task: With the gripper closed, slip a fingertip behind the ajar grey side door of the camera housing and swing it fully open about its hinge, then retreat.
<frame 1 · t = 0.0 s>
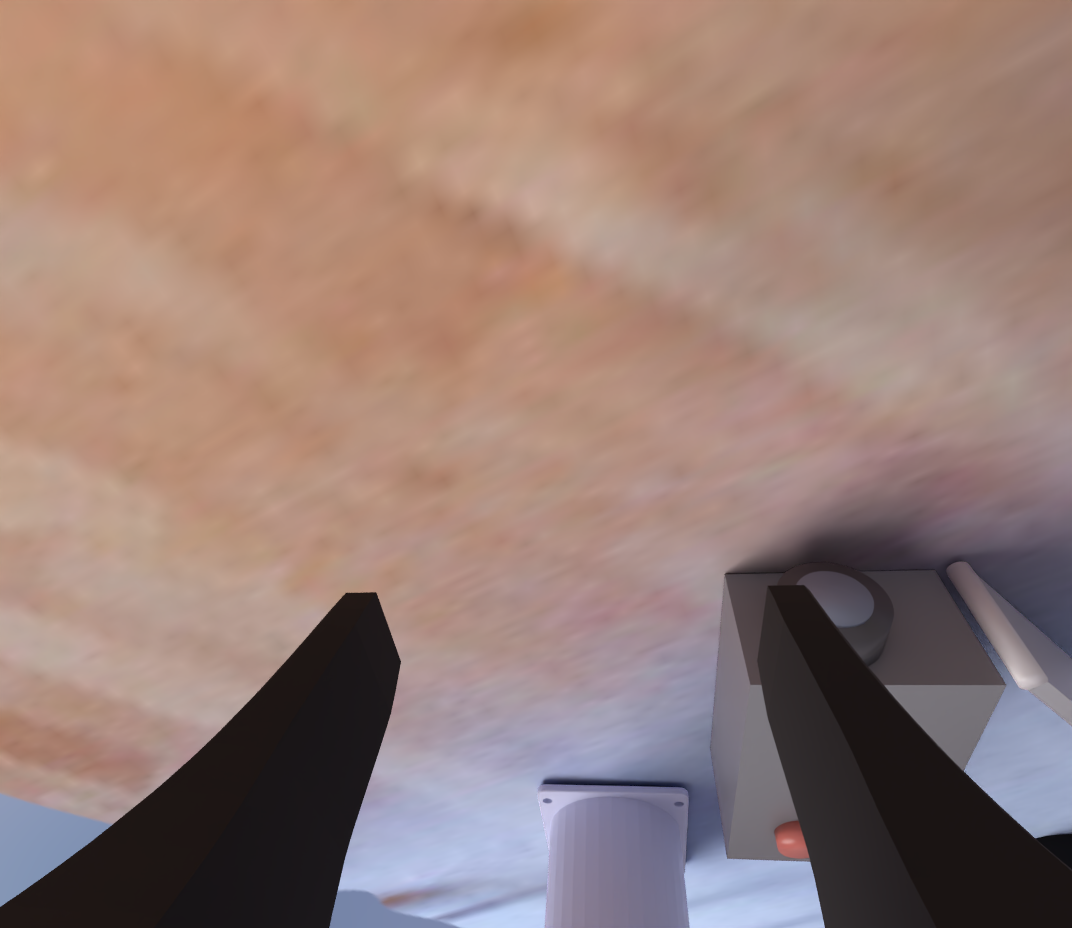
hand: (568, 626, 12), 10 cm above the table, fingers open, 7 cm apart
cup: (1055, 855, 34), on the table
side door: (1060, 670, 22), point 3 cm above the table, hinge at 45.0°
camera body: (806, 672, 27), on the table
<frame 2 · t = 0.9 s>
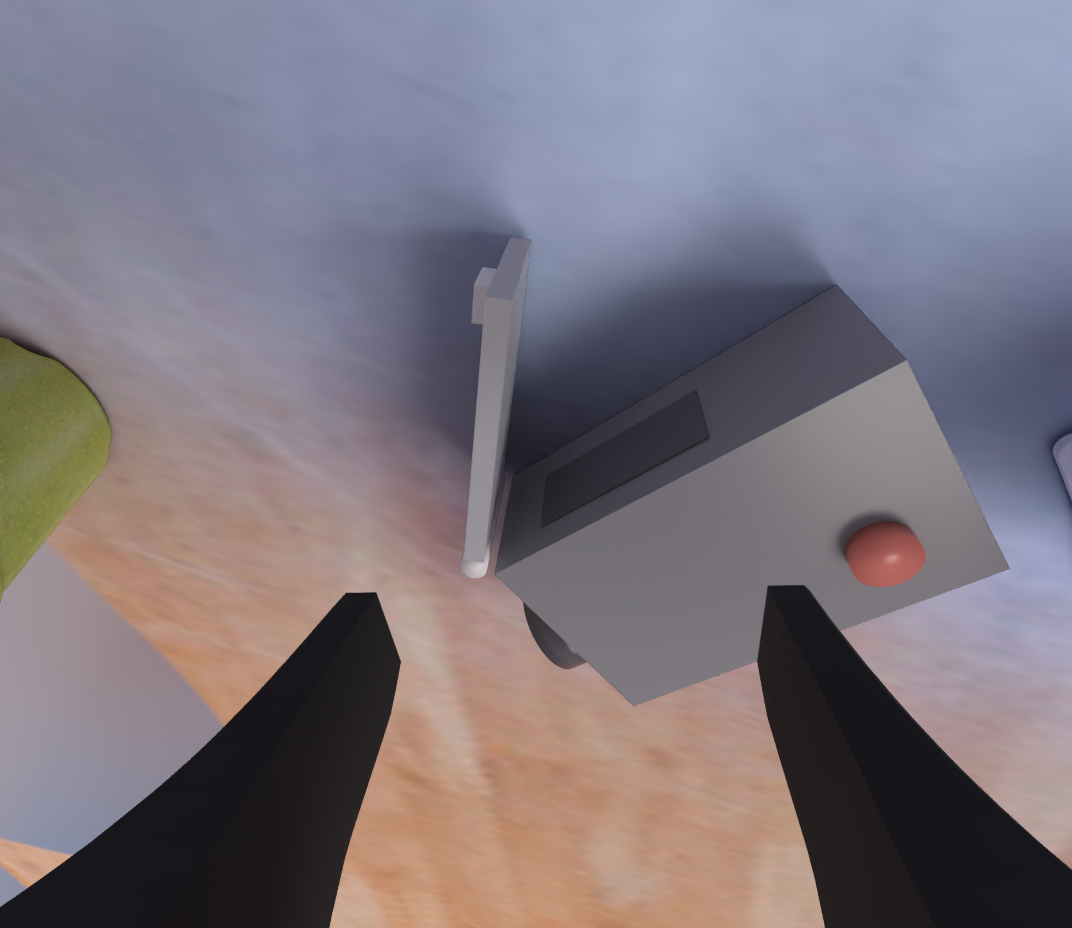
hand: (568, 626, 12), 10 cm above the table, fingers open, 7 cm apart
plant pot: (33, 406, 23), on the table
side door: (489, 412, 18), point 3 cm above the table, hinge at 45.0°
camera body: (713, 470, 22), on the table
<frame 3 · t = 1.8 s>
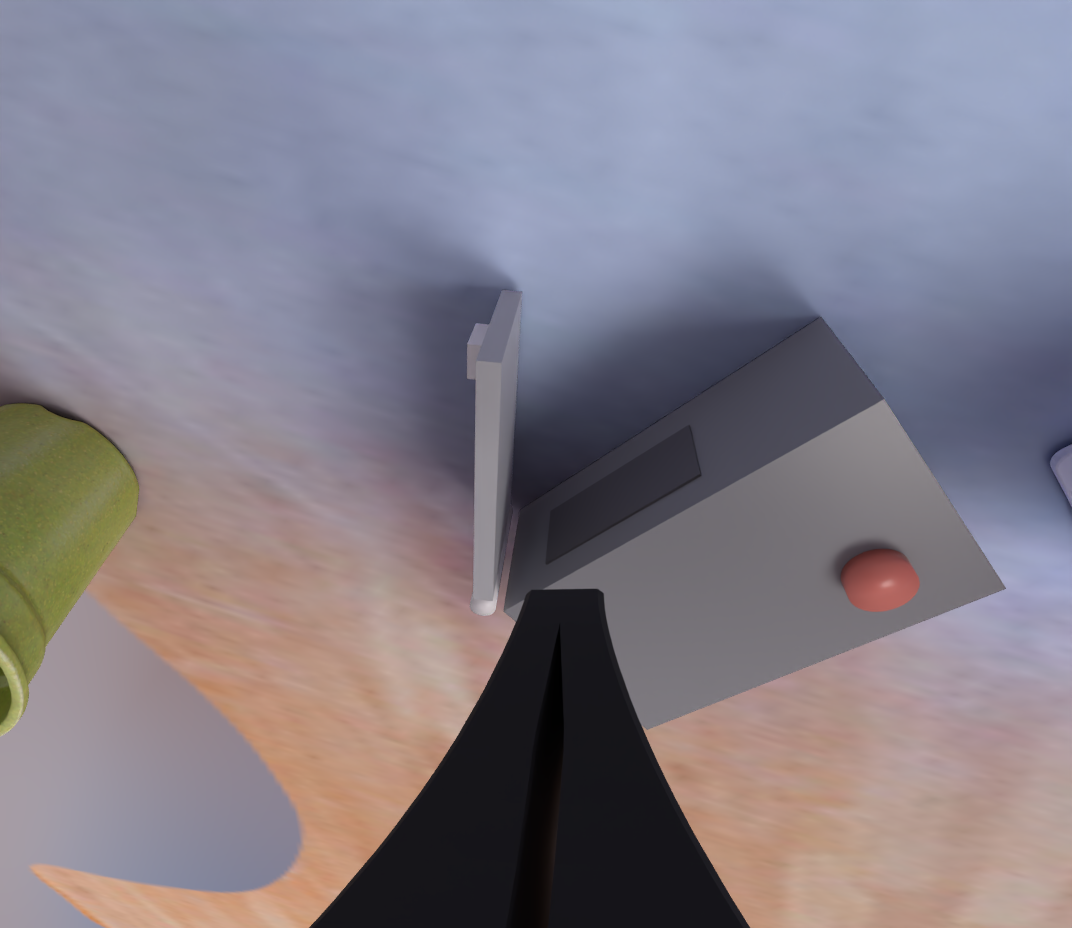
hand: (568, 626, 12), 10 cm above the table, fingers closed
plant pot: (66, 464, 24), on the table
side door: (490, 457, 19), point 3 cm above the table, hinge at 45.0°
camera body: (714, 496, 22), on the table
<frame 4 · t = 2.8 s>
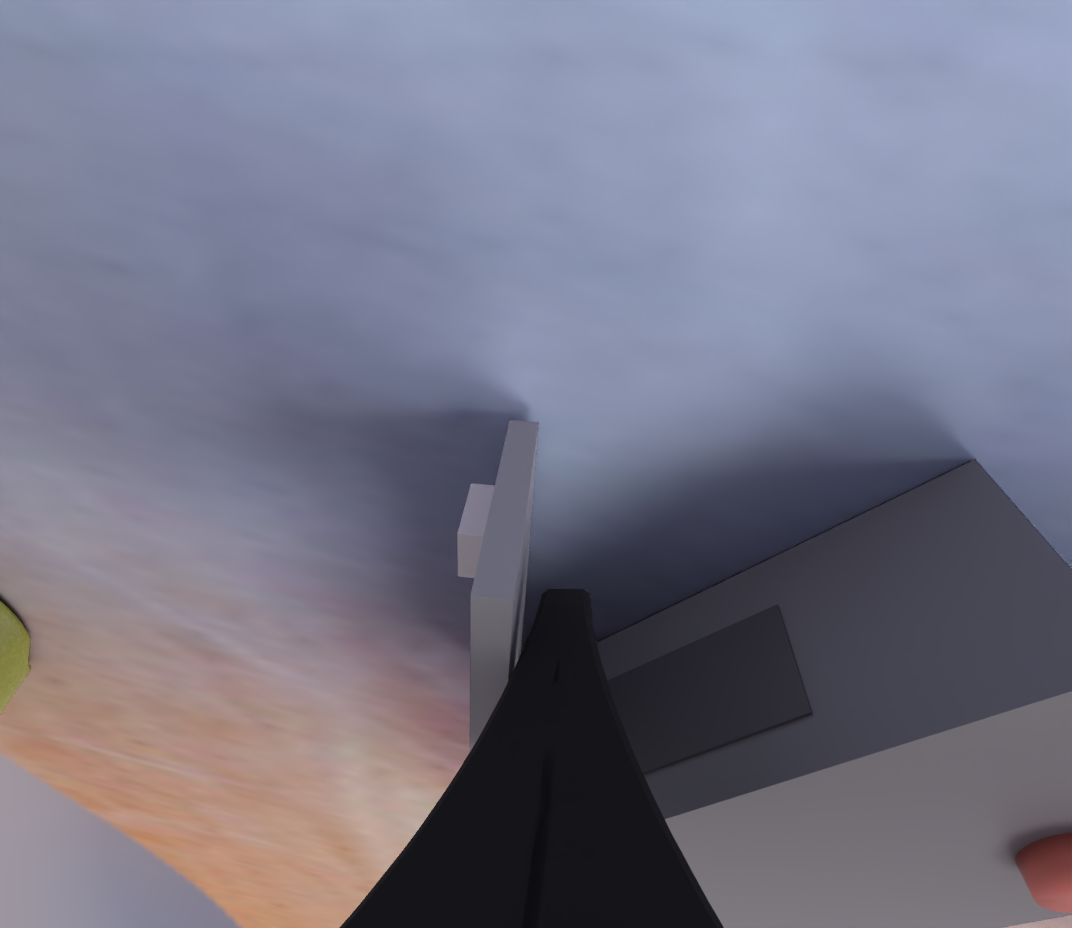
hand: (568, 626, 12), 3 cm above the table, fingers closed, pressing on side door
side door: (493, 655, 13), point 3 cm above the table, hinge at 45.3°, touching gripper
camera body: (793, 666, 17), on the table
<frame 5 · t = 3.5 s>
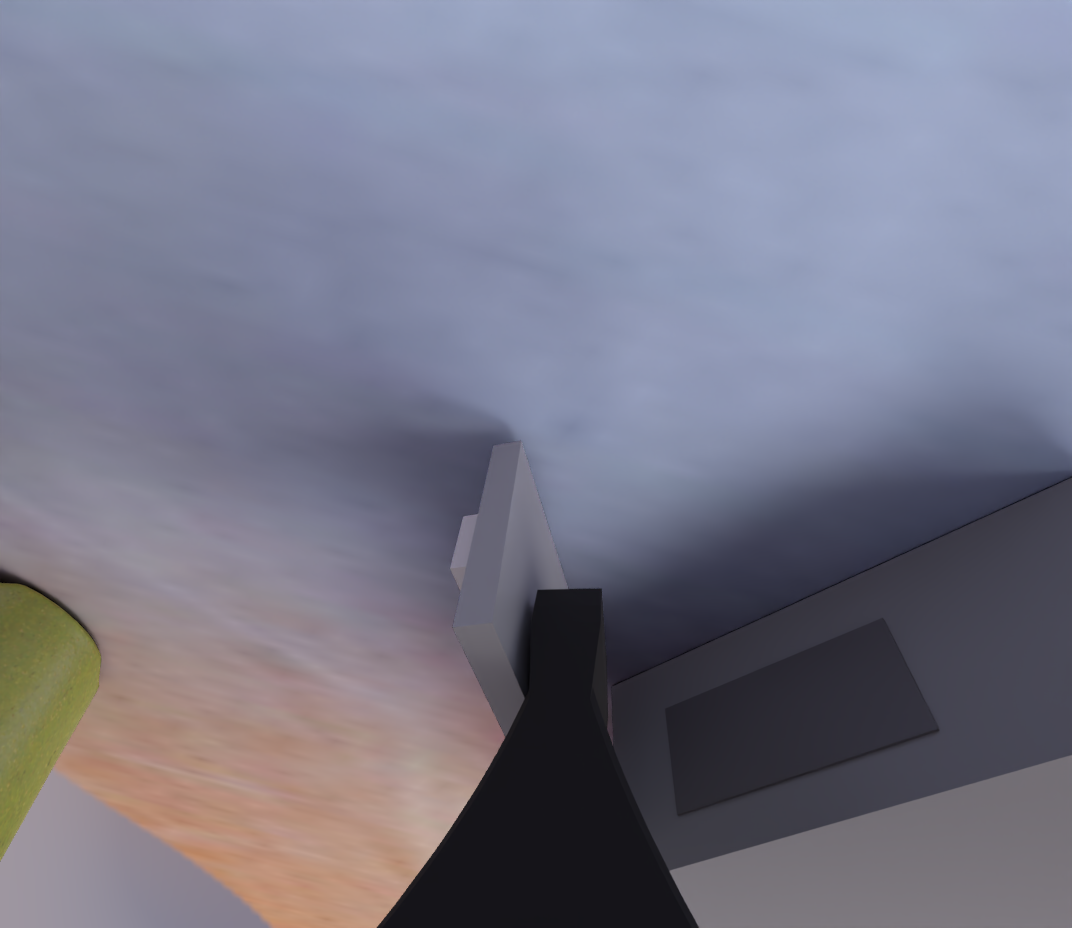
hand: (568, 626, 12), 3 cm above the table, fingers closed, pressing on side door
plant pot: (3, 626, 18), on the table
side door: (542, 674, 13), point 3 cm above the table, hinge at 63.3°, touching gripper
camera body: (878, 676, 17), on the table
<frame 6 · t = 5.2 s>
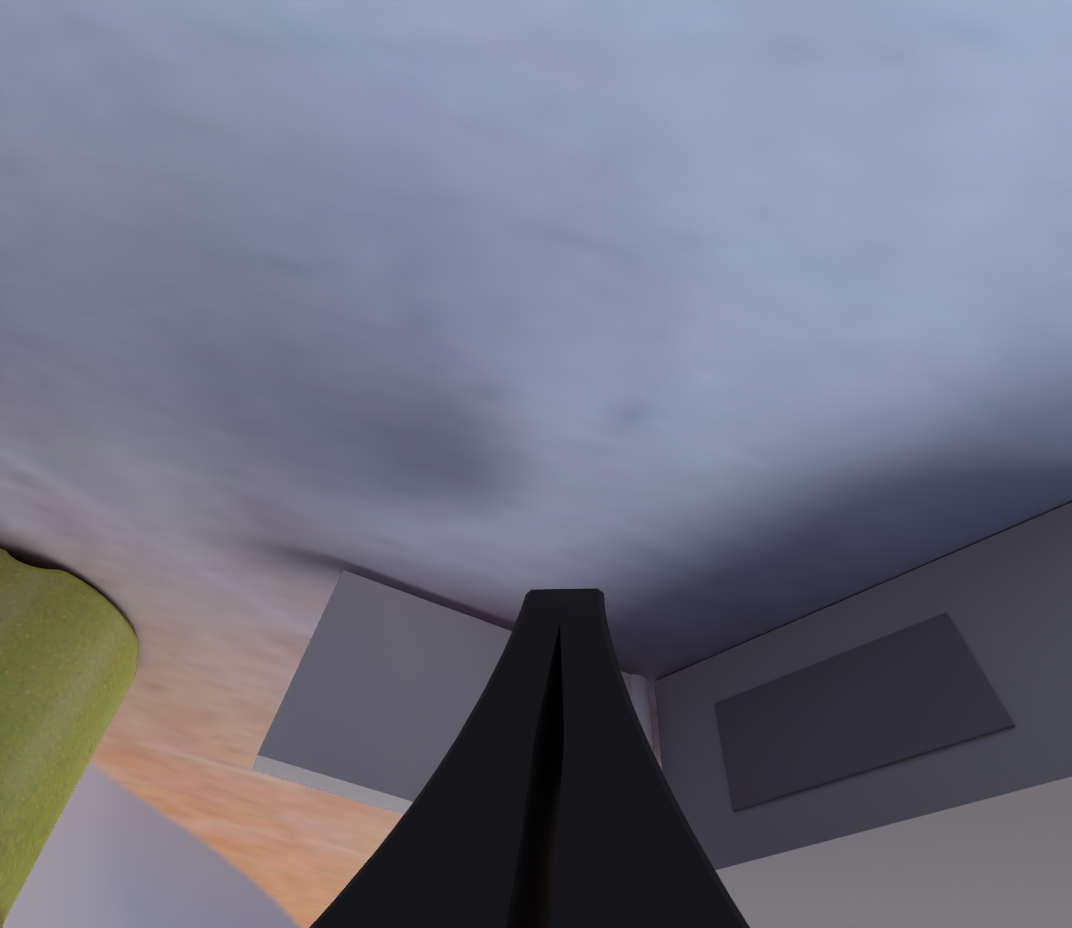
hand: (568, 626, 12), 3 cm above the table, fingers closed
plant pot: (41, 613, 18), on the table
side door: (484, 722, 15), point 3 cm above the table, hinge at 114.5°
camera body: (930, 673, 16), on the table
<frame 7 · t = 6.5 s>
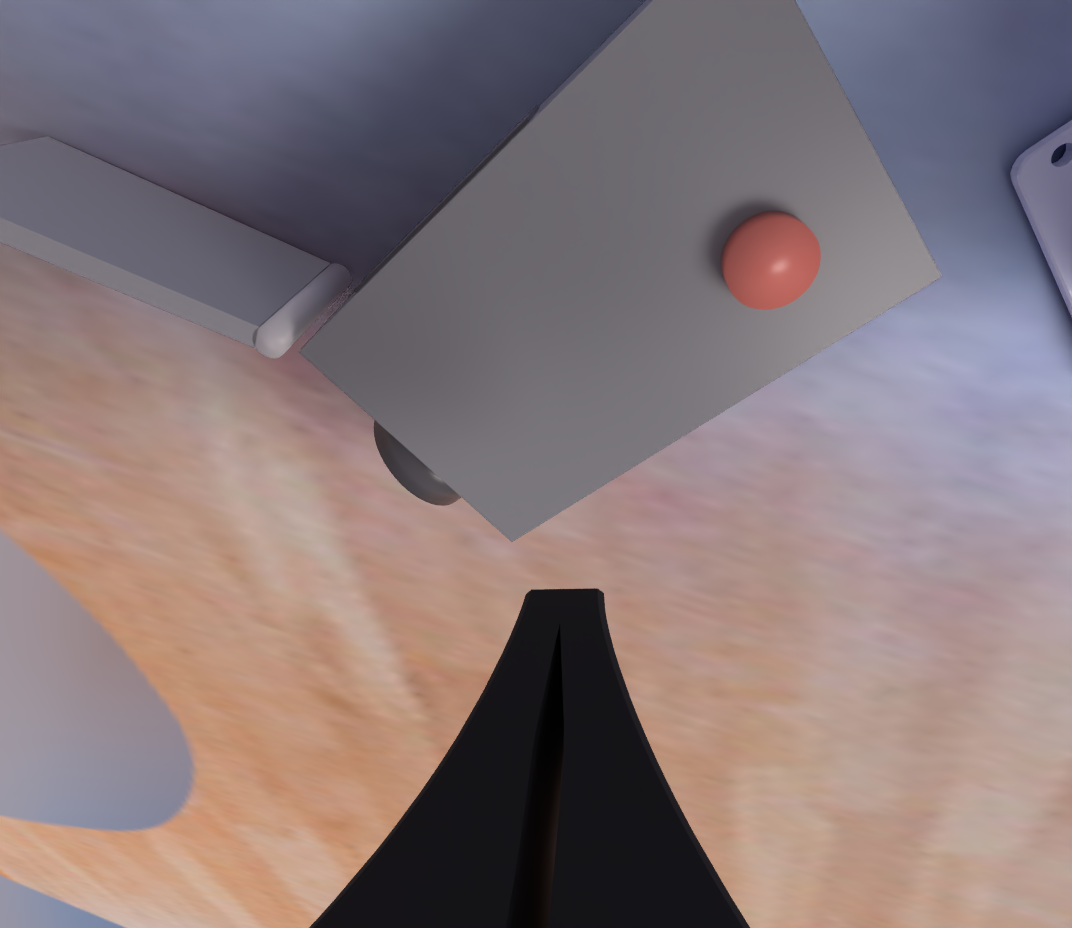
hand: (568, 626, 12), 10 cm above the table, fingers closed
side door: (157, 248, 16), point 3 cm above the table, hinge at 114.6°
camera body: (595, 251, 18), on the table
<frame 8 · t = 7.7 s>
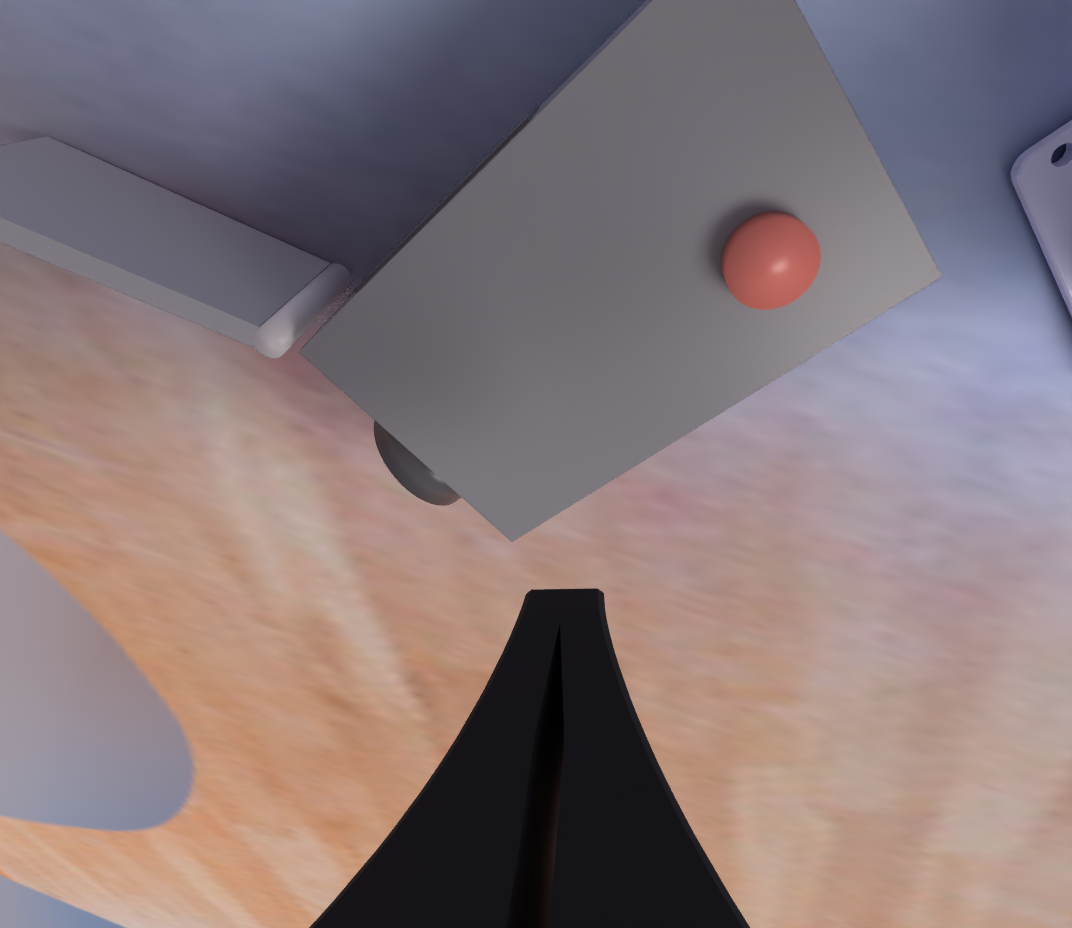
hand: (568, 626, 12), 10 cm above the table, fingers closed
side door: (157, 248, 16), point 3 cm above the table, hinge at 114.6°
camera body: (595, 251, 18), on the table
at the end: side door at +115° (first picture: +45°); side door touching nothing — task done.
